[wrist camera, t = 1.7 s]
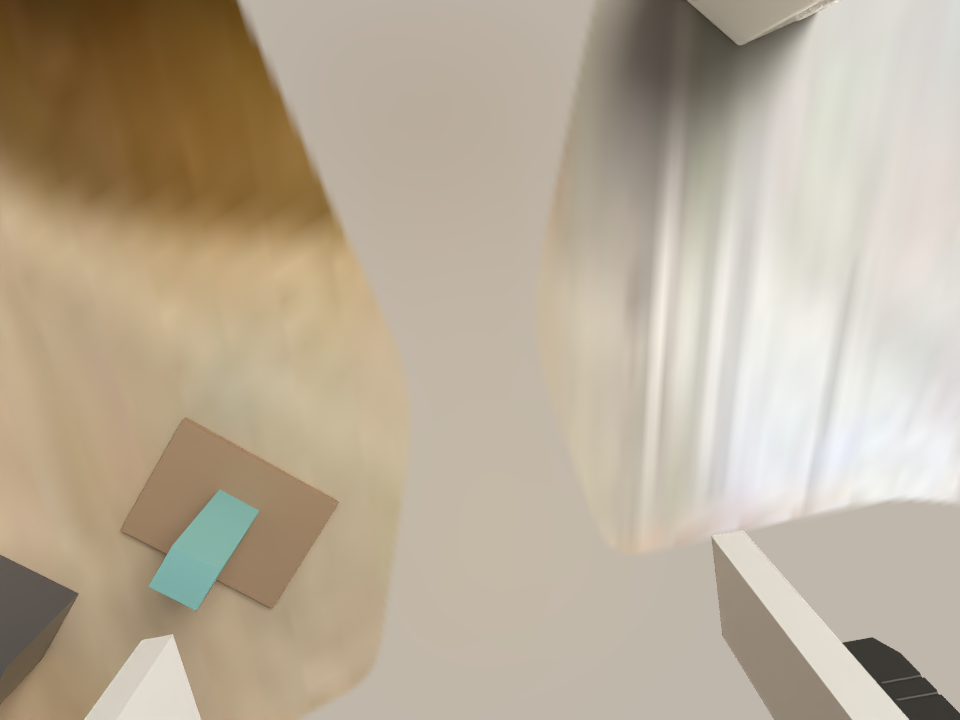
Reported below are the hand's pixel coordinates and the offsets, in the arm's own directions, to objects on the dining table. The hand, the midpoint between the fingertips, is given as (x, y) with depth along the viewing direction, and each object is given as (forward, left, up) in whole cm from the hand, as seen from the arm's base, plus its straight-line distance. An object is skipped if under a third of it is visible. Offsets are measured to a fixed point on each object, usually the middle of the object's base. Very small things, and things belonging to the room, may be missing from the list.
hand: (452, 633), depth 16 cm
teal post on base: (-7, -14, -23) cm, 28 cm away
